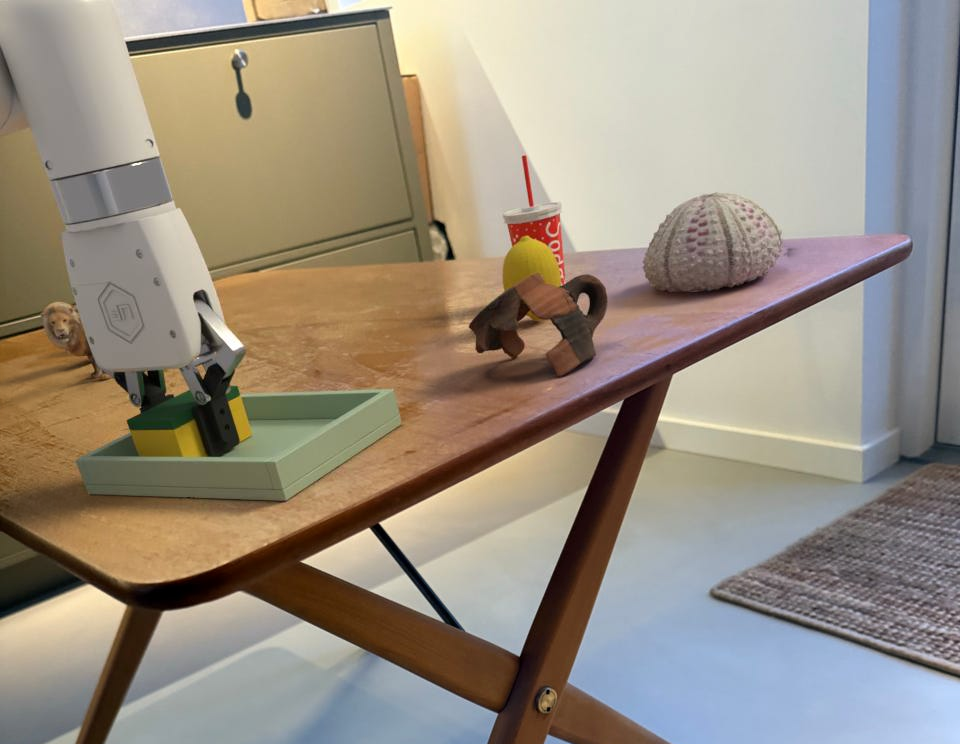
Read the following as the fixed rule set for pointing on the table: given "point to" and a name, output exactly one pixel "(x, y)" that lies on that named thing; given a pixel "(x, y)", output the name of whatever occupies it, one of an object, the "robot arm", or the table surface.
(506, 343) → the brown piece
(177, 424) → the sponge
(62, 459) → the table surface
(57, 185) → the robot arm
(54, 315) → the lion figurine
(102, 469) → the tray
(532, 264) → the lemon
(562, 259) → the beverage cup
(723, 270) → the sea urchin shell
